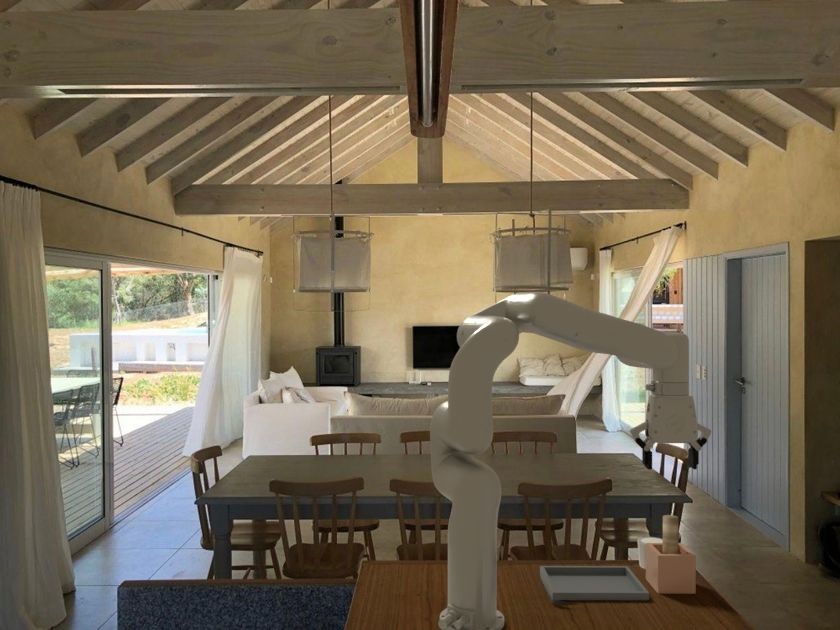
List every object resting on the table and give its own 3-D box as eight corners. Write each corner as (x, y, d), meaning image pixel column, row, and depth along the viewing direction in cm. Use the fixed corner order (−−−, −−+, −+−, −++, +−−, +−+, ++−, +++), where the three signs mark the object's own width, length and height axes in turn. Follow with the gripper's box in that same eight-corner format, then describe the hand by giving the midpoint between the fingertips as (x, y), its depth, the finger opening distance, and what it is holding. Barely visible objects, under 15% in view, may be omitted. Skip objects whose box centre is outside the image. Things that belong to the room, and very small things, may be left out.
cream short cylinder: (670, 577, 161) (670, 546, 161) (638, 574, 162) (638, 544, 162) (665, 566, 167) (665, 537, 167) (635, 564, 169) (635, 535, 169)
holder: (657, 597, 149) (658, 555, 149) (645, 583, 157) (645, 542, 157) (695, 597, 149) (695, 555, 149) (681, 583, 157) (681, 543, 157)
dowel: (676, 589, 151) (676, 520, 151) (660, 586, 153) (661, 517, 153) (679, 584, 154) (679, 516, 154) (664, 581, 155) (664, 514, 155)
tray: (552, 604, 146) (552, 592, 146) (540, 576, 161) (540, 565, 161) (649, 604, 146) (649, 592, 146) (627, 577, 161) (627, 566, 161)
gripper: (636, 391, 149) (636, 472, 149) (717, 391, 149) (717, 472, 149) (625, 387, 156) (625, 464, 157) (703, 387, 156) (703, 464, 157)
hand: (670, 468), depth 153 cm, fingers open, 9 cm apart
